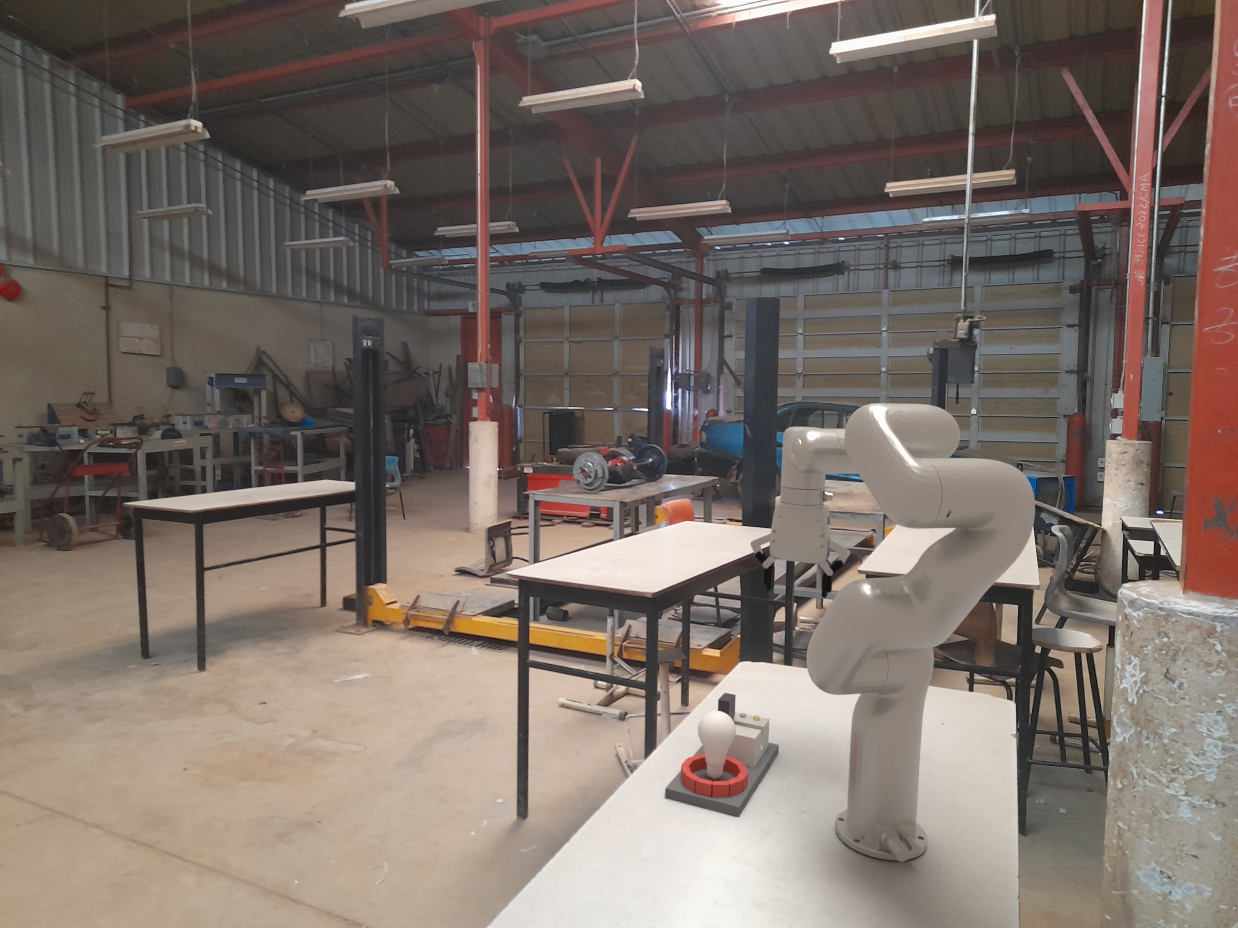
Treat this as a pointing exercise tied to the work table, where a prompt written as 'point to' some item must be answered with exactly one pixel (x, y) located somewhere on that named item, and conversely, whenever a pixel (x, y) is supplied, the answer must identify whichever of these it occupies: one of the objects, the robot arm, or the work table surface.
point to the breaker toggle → (727, 704)
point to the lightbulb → (716, 740)
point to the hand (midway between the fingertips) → (797, 592)
